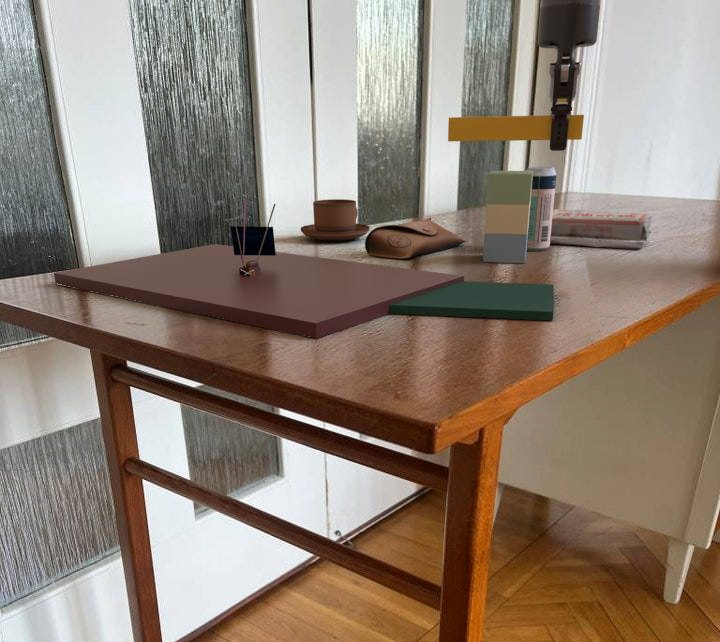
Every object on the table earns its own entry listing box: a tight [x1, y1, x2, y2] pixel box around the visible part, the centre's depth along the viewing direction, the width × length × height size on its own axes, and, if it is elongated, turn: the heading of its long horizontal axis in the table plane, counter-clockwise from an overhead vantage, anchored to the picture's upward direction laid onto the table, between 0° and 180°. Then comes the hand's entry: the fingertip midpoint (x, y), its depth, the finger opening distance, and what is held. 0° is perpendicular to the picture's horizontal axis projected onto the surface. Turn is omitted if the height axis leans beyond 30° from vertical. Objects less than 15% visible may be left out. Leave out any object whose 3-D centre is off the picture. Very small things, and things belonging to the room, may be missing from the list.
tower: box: [482, 170, 533, 264], centre depth 109 cm, size 6×6×12 cm
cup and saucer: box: [300, 198, 371, 242], centre depth 130 cm, size 12×12×6 cm
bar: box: [447, 114, 585, 142], centre depth 104 cm, size 18×4×3 cm, turn 77°
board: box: [53, 198, 465, 339], centre depth 94 cm, size 45×28×10 cm, turn 52°
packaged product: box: [550, 208, 652, 250], centre depth 124 cm, size 18×5×10 cm
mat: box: [389, 280, 555, 321], centre depth 87 cm, size 22×14×1 cm, turn 77°
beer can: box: [525, 166, 557, 252], centre depth 117 cm, size 5×5×12 cm
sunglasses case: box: [364, 216, 467, 260], centre depth 120 cm, size 18×7×7 cm
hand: (557, 149), depth 104 cm, fingers closed on bar, 4 cm apart
